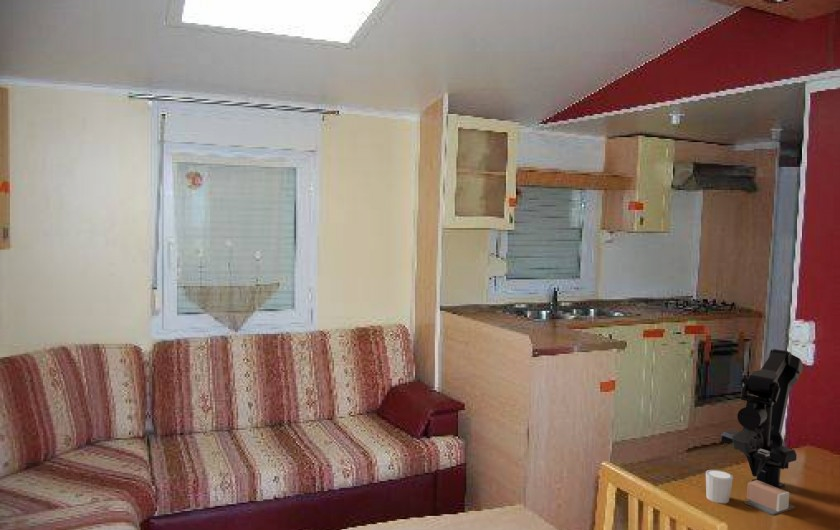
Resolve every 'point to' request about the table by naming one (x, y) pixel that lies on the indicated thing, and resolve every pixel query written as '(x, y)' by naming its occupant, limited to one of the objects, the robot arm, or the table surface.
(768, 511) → the mat
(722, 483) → the white cup
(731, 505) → the table surface
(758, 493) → the block
